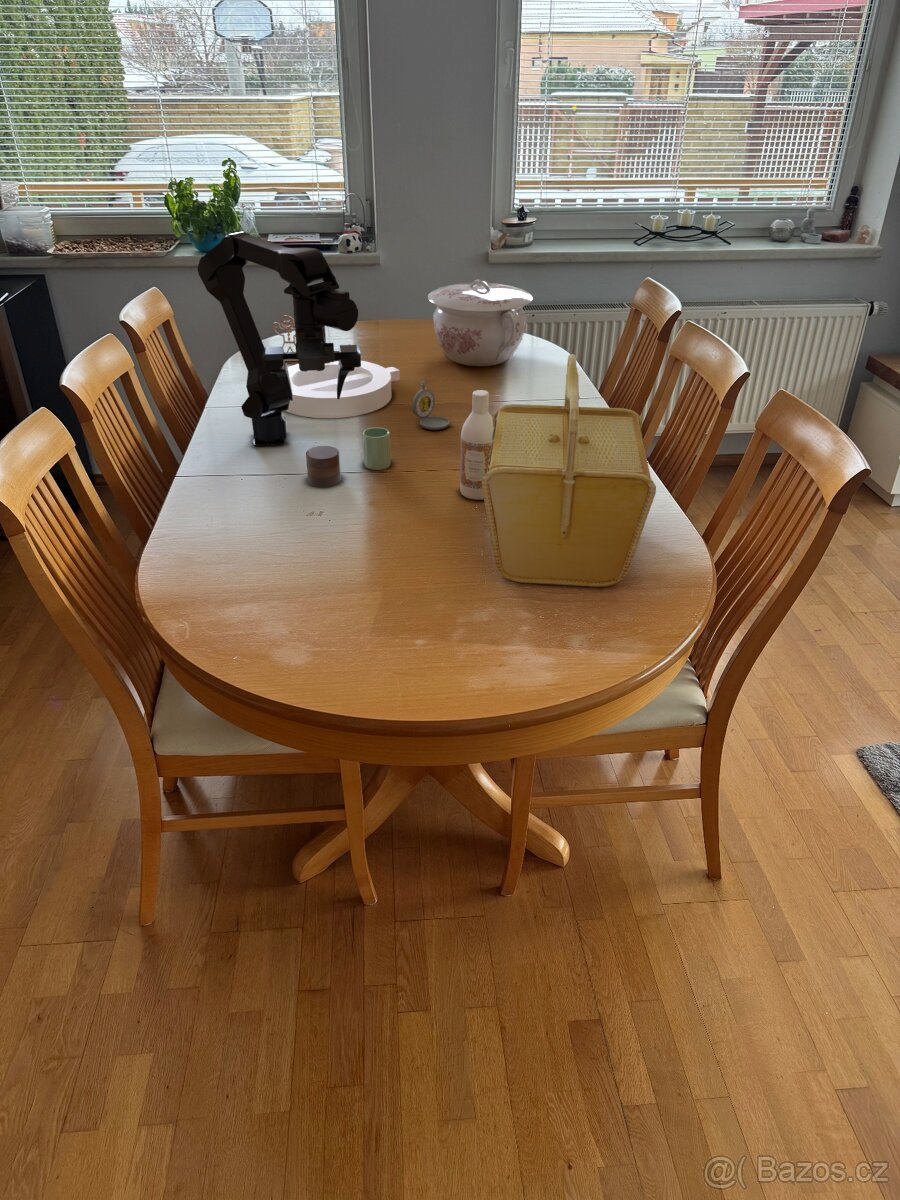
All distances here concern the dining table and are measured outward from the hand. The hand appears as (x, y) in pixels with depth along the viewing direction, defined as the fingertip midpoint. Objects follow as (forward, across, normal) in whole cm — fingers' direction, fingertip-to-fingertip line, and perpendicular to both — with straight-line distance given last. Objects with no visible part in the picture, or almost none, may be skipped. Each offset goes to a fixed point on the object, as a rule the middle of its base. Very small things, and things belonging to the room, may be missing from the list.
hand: (315, 399), depth 175 cm
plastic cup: (+13, +12, -5) cm, 18 cm away
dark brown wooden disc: (+9, +1, -11) cm, 14 cm away
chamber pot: (+13, +43, +60) cm, 75 cm away
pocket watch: (+13, +25, +16) cm, 32 cm away
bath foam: (+12, +30, -20) cm, 38 cm away
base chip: (+13, +1, -11) cm, 17 cm away
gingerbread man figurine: (+14, -7, +65) cm, 67 cm away
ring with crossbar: (+13, +4, +36) cm, 39 cm away
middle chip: (+11, +1, -11) cm, 15 cm away
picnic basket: (+12, +41, -43) cm, 60 cm away
